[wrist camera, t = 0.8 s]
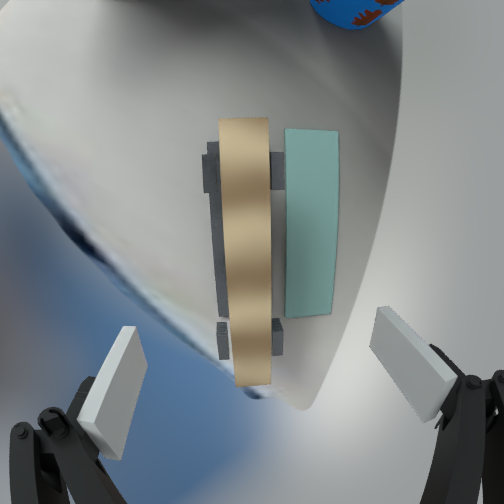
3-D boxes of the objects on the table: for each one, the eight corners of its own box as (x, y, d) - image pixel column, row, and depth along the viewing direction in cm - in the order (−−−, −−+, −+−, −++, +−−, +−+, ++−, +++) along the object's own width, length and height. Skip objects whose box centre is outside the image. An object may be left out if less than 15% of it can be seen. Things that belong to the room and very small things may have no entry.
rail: (219, 126, 22) (218, 118, 18) (261, 125, 22) (268, 117, 18) (234, 362, 29) (235, 387, 25) (265, 359, 29) (270, 384, 25)
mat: (284, 129, 32) (285, 128, 31) (336, 131, 32) (338, 131, 32) (284, 316, 40) (285, 318, 39) (329, 311, 40) (330, 313, 40)
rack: (207, 143, 32) (196, 130, 19) (264, 140, 32) (287, 127, 20) (219, 312, 39) (218, 374, 26) (267, 309, 39) (285, 368, 27)
